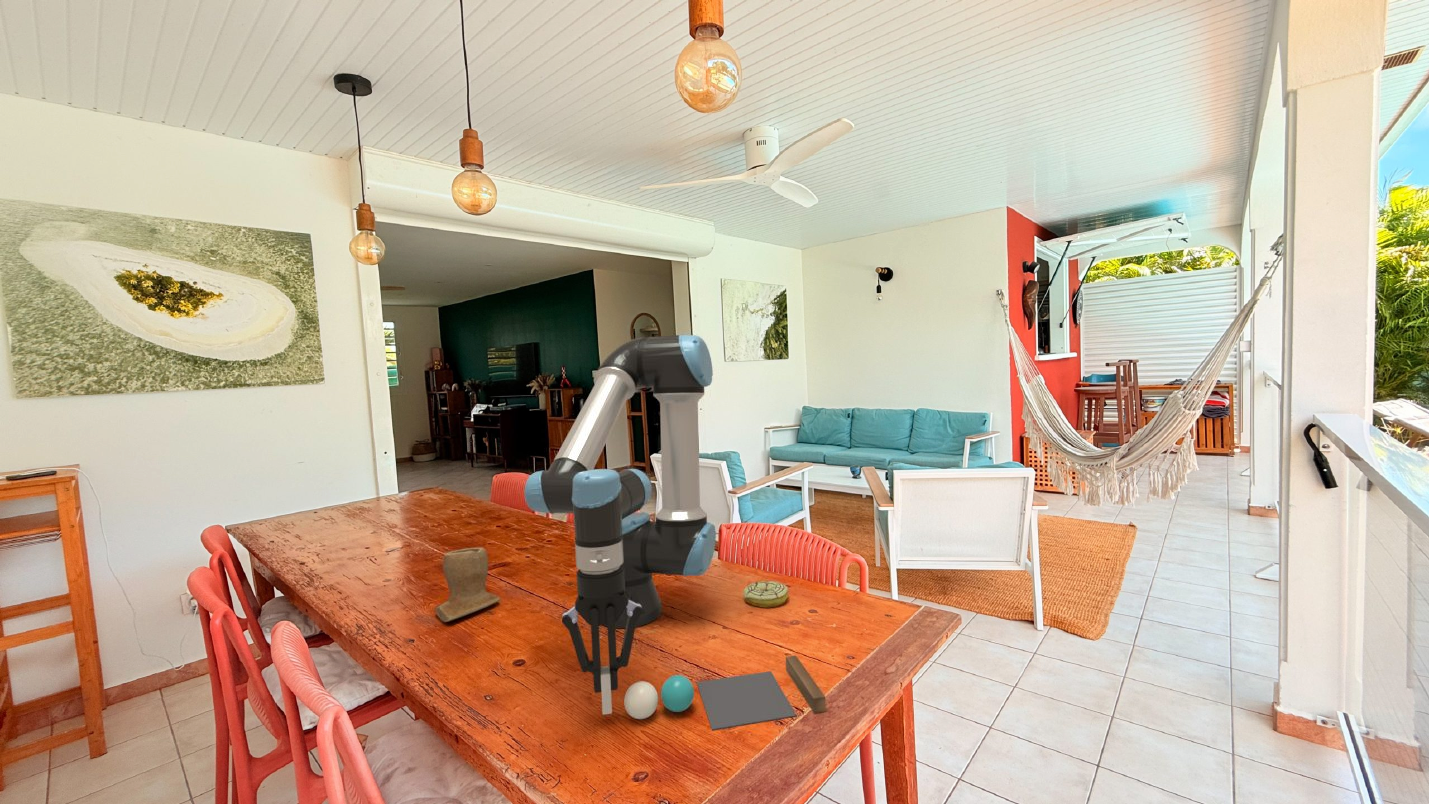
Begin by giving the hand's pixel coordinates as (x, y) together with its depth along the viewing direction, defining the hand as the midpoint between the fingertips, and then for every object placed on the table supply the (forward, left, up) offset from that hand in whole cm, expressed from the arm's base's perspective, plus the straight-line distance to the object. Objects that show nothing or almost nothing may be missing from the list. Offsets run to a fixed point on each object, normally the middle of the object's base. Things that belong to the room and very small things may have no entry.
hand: (607, 708), depth 92 cm
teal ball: (+9, +7, +1) cm, 12 cm away
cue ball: (+5, +3, +1) cm, 6 cm away
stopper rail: (+28, +19, -2) cm, 34 cm away
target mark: (+19, +13, -2) cm, 23 cm away
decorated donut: (+9, +54, -2) cm, 55 cm away
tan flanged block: (-59, +25, -2) cm, 64 cm away
